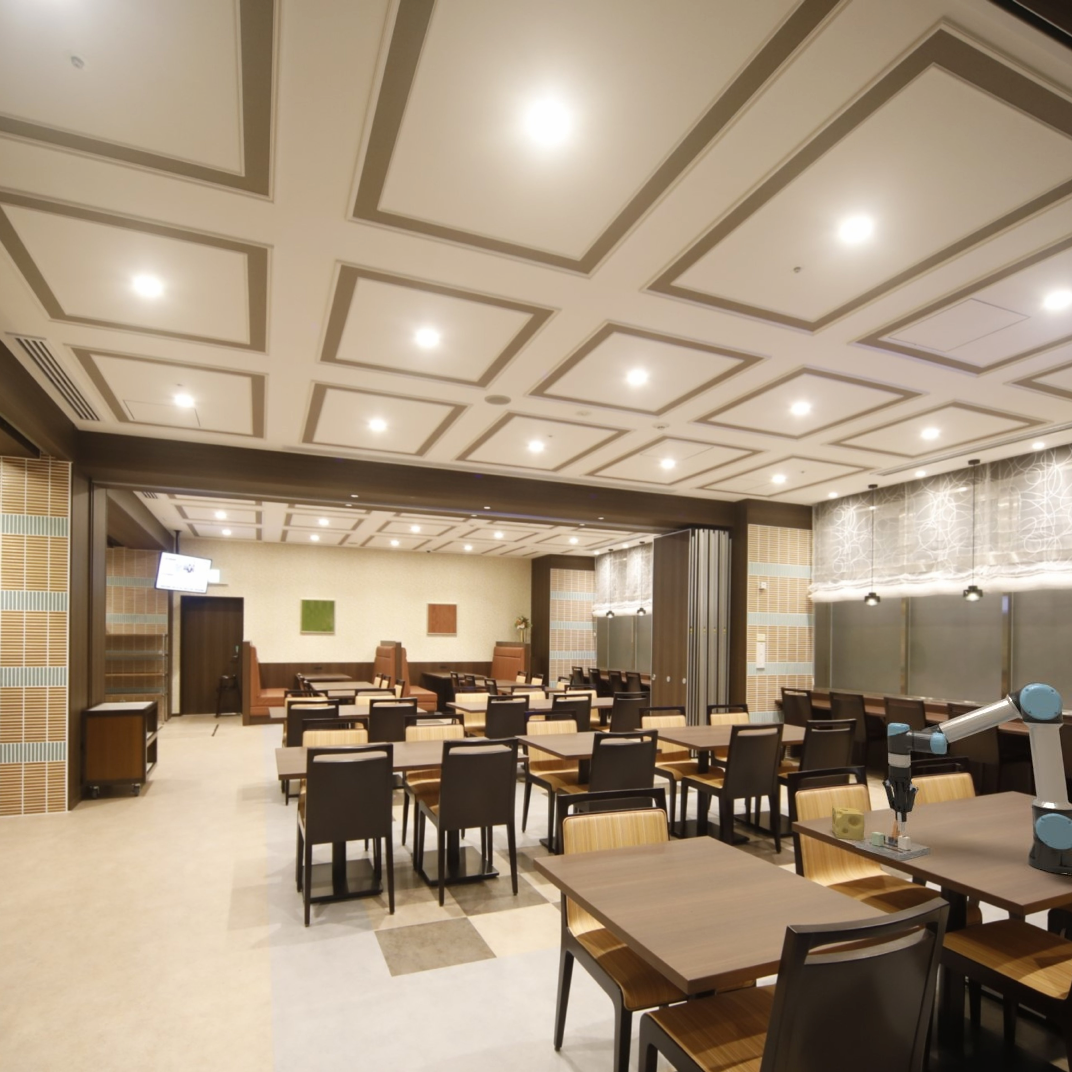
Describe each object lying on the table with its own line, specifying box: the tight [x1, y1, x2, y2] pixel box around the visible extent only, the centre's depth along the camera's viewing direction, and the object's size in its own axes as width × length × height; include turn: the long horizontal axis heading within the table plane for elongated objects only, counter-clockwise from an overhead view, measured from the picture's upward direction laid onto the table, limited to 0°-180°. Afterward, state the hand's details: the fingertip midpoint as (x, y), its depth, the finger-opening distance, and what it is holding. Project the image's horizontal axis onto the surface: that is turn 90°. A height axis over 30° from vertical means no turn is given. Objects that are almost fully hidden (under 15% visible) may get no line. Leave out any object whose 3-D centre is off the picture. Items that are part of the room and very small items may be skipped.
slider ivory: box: [898, 835, 911, 850], centre depth 253 cm, size 3×3×4 cm
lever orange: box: [891, 820, 901, 841], centre depth 262 cm, size 1×3×8 cm, turn 123°
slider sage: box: [870, 831, 885, 846], centre depth 257 cm, size 3×3×4 cm
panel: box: [854, 834, 931, 862], centre depth 258 cm, size 17×20×4 cm
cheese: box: [831, 806, 866, 841], centre depth 274 cm, size 10×11×10 cm
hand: (901, 830), depth 260 cm, fingers closed
